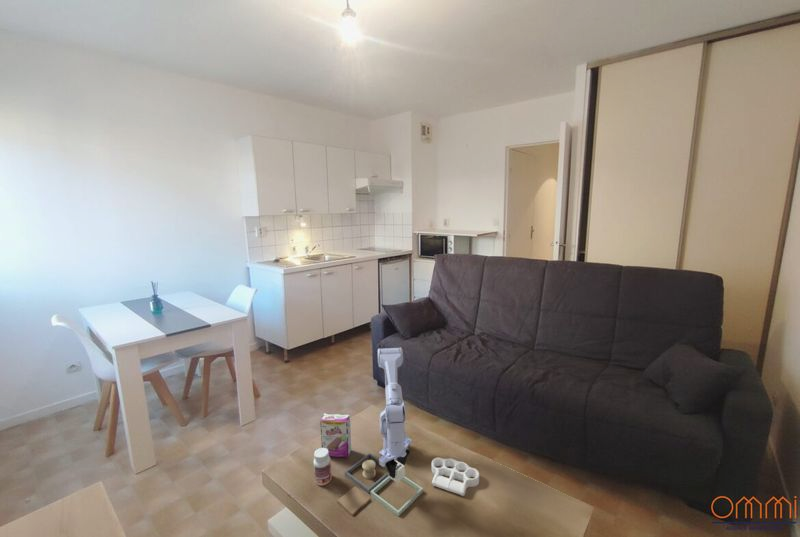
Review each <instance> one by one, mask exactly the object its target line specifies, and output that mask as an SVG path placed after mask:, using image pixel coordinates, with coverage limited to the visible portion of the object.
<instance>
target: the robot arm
mask: <svg viewBox="0 0 800 537" xmlns="http://www.w3.org/2000/svg"><path fill="white" fill-rule="evenodd" d="M403 362H404V353H403V348H402V347H401V346H400V347H389V348H378V349H377V365H378V367H379V368H381V369H383V370H384V384H385V385H384V386H385V388H384V389H385V390H384V394H385V408H384V410H382V411H381V412H380V414H379V434H380V435H382V437H383V440H382V441H383V442H382V443H383V445H382V446H383V448H382V449H381V450H380V451H379V452H378V453H379V455H381V456H380V457H379V458H378V459H379V464H378V465H379V466H380V467H381V468H384V466H385V465H386V467H387V469H386V470H387V472H388V473H389V476H390V477H392V478H395V473H396V466H397V464H398V463H397V462H396V461H398V462H400V463H401V464H403V465H404V466H405V467H406V462H407V460H408V457H409V455H410V454H411V450H410V449H409V448H408V447H409V446H412V443H413V441H412V439H411V438H409V437H408V436H407V433H406V430H405V429H406V428H405V427H406V426H405V425H406V424H405V422H406V420H407V419H406V417H407V416H406V415H407V414H406V407H405V403H404V400H403V393H402V392H403V391H402V390H403V389H402V386H401V385H400V384H399V383H398V368H400V367H401V366H402V365H403Z"/></svg>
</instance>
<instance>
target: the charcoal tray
mask: <svg viewBox="0 0 800 537" xmlns="http://www.w3.org/2000/svg"><path fill="white" fill-rule="evenodd" d="M379 459H380V458H378V457H377V456H375V455H373V454H372V453H370V452H369V453H368V454H366V455H365V456H364V457H363V458H361V459H359V460H358V461H357V462H355V463H354V464H353V465H352V466H350V467H349V468H348V469H346V470H345V471H344V476H345V477H346V478H348V480H350V481H351V482H352V483H353V484H355V485H357V486H358V487H359V488H361V489H362V490H363V491H365V493H367V494H368V495H369V494H371V493H370V491H372V490H373V489H374V488H375V487H376V486H378V485H379V484H380V483H381V482H382V481H383V480H385V479H386V478H387V477H388V471H387V472H386V473H385V474H383V475H382V476H381V477H380V478H379V479H378V480H376V482H374V483H373V484H372V485H370V486H369V487H368V486H367V485H365V484H364V483H363V482H361V481H360V480H359V479H357V478H356V477H355V476H354V475H352V474H351V473H352V472H353V471H354V470H356V469H357V468H359V467H360V466H362V464H363V462H364V461H366V460H373V461H374V462H375V463H377V464H378V465H379ZM383 468H384V469H385V470H387V467H386V465H385V466H384V467H383Z"/></svg>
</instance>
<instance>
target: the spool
mask: <svg viewBox="0 0 800 537" xmlns="http://www.w3.org/2000/svg"><path fill="white" fill-rule="evenodd" d="M376 463H377V462H375V461H374V460H372V459H368V460H366V461H364V462H363V463H362V464H361V466H362V467H361V468H362V469H363V470H362V477H363V478H364V479H366V480H373V478H375V477H376V475H377V471H376V467H377V466H376Z"/></svg>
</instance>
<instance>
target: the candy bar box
mask: <svg viewBox="0 0 800 537" xmlns="http://www.w3.org/2000/svg"><path fill="white" fill-rule="evenodd" d="M319 422H320V440H321V448H326V449H328V452H329V456H330V458H331V457H332V458H333V457H335V458H349V457H350V454H351V451H352V434H351V415H350V414H341V413H340V414H339V413H338V414H337V413H322V417H321V418H320V421H319Z"/></svg>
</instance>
